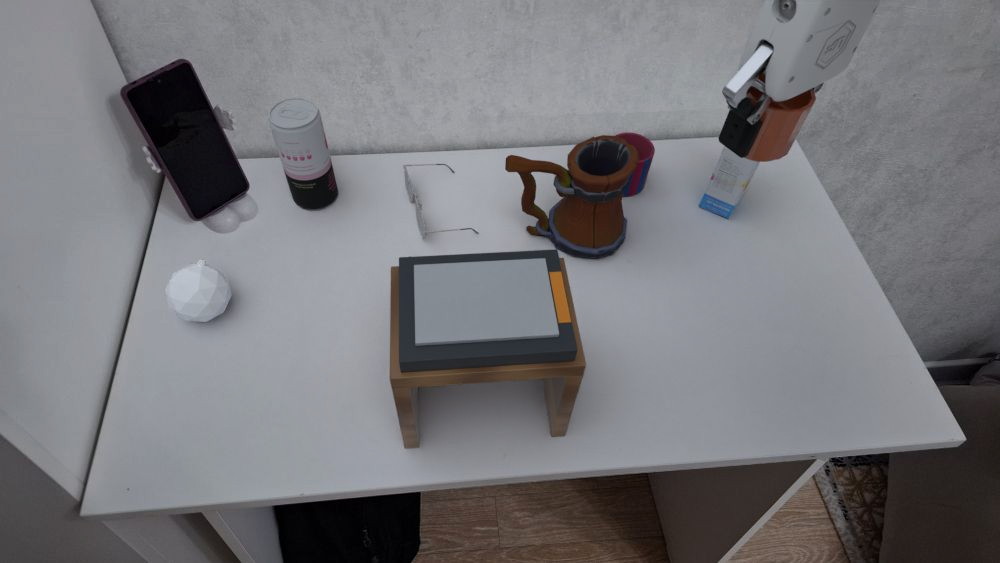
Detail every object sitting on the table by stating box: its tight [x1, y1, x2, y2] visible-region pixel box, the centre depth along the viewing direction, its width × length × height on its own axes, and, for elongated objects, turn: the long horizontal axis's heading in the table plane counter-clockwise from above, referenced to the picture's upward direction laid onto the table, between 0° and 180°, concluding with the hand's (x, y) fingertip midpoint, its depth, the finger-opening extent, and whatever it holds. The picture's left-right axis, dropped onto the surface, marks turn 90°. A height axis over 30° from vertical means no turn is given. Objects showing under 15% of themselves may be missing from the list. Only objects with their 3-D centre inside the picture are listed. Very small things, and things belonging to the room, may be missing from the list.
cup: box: [614, 132, 656, 197], centre depth 93 cm, size 7×10×7 cm
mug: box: [504, 134, 640, 259], centre depth 83 cm, size 18×12×15 cm, turn 95°
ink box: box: [698, 145, 761, 220], centre depth 88 cm, size 8×5×15 cm, turn 147°
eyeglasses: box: [402, 163, 479, 240], centre depth 89 cm, size 14×8×4 cm, turn 18°
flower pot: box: [744, 73, 817, 163], centre depth 57 cm, size 6×6×6 cm
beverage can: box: [267, 96, 339, 211], centre depth 85 cm, size 6×7×15 cm
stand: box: [389, 257, 587, 449], centre depth 66 cm, size 18×13×16 cm
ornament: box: [164, 259, 233, 323], centre depth 75 cm, size 7×7×8 cm
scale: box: [398, 248, 578, 373], centre depth 59 cm, size 16×12×2 cm
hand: (758, 134), depth 59 cm, fingers closed on flower pot, 6 cm apart
